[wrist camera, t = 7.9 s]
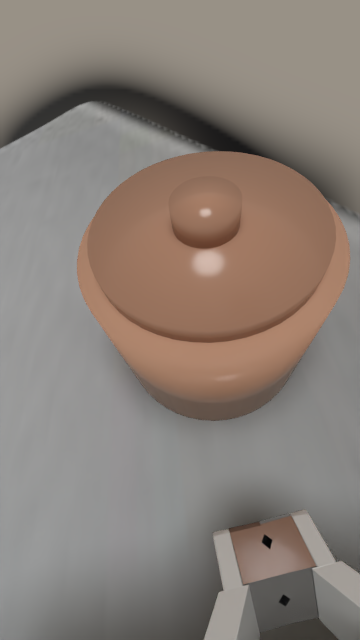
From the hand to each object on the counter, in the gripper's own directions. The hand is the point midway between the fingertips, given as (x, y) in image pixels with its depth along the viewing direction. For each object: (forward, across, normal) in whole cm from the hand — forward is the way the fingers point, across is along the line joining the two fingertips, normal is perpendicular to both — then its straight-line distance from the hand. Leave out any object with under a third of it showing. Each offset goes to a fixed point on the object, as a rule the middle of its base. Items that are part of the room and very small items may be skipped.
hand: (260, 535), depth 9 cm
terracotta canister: (+10, -1, -3) cm, 11 cm away
